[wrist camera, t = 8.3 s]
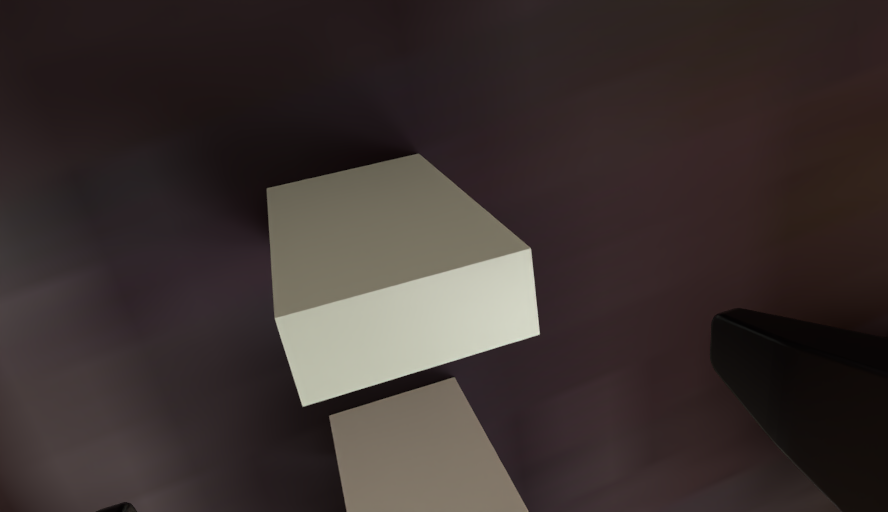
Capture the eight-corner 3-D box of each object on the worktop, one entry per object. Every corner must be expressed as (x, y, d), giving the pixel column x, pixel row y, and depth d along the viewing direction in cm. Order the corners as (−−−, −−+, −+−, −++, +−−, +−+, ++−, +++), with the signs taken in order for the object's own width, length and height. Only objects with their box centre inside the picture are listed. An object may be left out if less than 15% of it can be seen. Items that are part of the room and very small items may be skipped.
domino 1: (266, 188, 19) (274, 318, 11) (418, 153, 20) (530, 248, 12) (283, 245, 19) (303, 407, 11) (428, 209, 20) (539, 334, 12)
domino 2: (328, 415, 22) (370, 639, 14) (454, 377, 23) (558, 565, 15) (340, 456, 23) (386, 688, 15) (461, 417, 24) (563, 615, 16)
